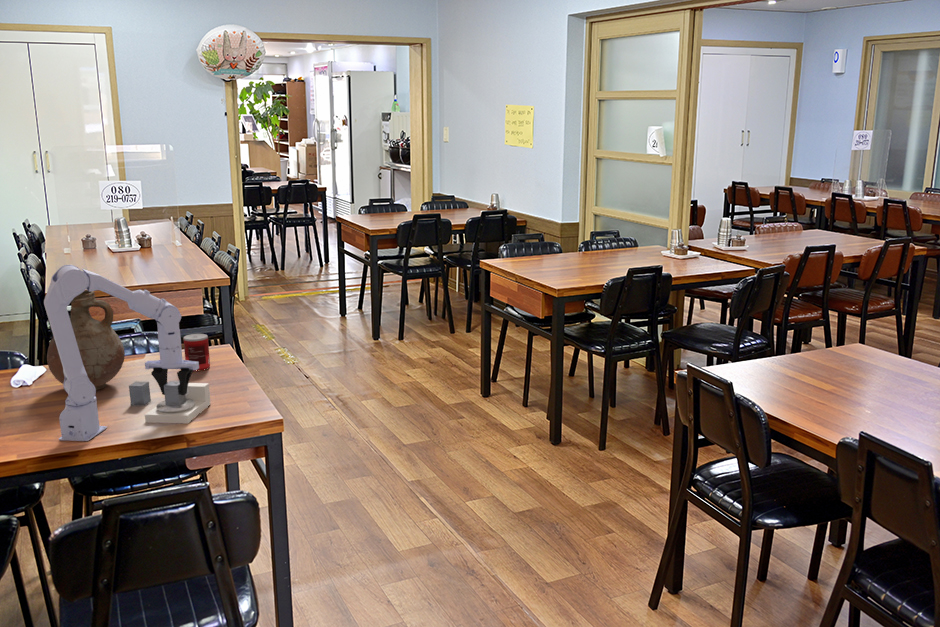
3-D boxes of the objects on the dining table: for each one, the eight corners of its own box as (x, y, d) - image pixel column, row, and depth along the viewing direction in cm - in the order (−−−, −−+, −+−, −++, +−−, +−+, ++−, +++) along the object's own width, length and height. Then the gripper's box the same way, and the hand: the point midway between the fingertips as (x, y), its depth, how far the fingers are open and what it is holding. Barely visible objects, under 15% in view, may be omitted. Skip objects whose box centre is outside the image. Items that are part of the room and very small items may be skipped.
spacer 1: (144, 405, 229) (142, 386, 227) (130, 405, 229) (128, 385, 228) (150, 401, 233) (148, 381, 231) (137, 400, 233) (135, 381, 232)
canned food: (200, 363, 270) (197, 332, 267) (215, 367, 265) (212, 335, 263) (181, 369, 264) (178, 337, 261) (195, 373, 259) (192, 340, 257)
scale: (188, 423, 214) (186, 400, 213) (145, 422, 215) (143, 399, 214) (210, 404, 229) (208, 383, 228) (170, 403, 230) (168, 382, 229)
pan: (185, 412, 215) (185, 410, 215) (149, 411, 216) (149, 409, 216) (200, 400, 225) (200, 398, 224) (166, 399, 225) (166, 397, 225)
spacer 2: (179, 406, 218) (177, 385, 217) (165, 406, 218) (163, 385, 217) (186, 401, 222) (184, 381, 221) (172, 401, 222) (170, 380, 221)
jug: (58, 380, 252) (46, 288, 246) (130, 374, 259) (121, 283, 252) (45, 402, 232) (31, 302, 225) (124, 394, 239) (113, 297, 232)
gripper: (201, 343, 220) (205, 389, 223) (151, 342, 221) (156, 388, 224) (190, 350, 213) (195, 398, 216) (139, 349, 214) (144, 396, 217)
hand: (174, 393), depth 219 cm, fingers open, 5 cm apart
